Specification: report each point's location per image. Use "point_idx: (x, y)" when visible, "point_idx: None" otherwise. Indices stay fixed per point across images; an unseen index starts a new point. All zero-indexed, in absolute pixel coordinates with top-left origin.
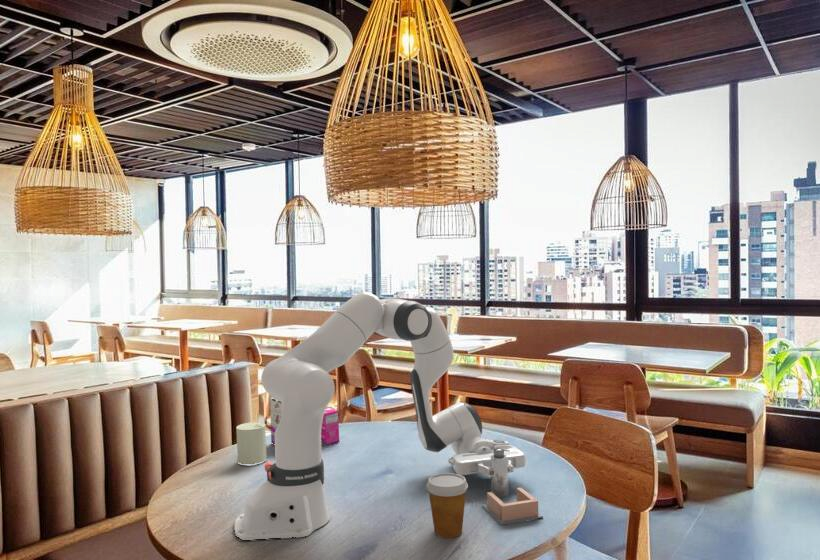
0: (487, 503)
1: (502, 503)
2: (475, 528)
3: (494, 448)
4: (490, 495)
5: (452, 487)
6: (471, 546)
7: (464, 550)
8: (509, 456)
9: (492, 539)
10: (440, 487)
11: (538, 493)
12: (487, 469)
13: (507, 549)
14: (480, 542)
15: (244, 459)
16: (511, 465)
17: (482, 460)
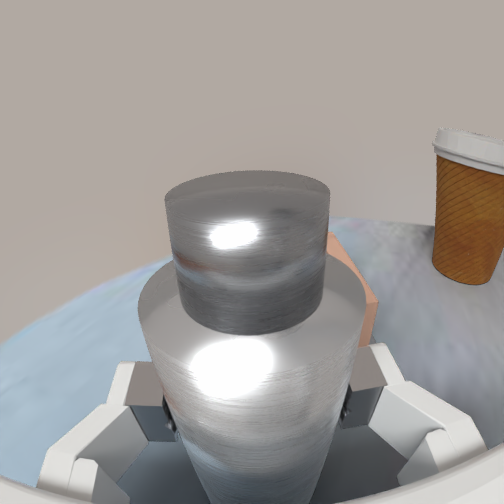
0: (368, 338)
1: (327, 240)
2: (403, 270)
3: (303, 208)
4: (364, 280)
5: (457, 131)
6: (404, 232)
7: (414, 227)
8: (6, 485)
9: (363, 240)
10: (481, 137)
11: (67, 424)
12: (383, 343)
13: (337, 221)
14: (388, 237)
15: None
16: (127, 367)
17: (443, 472)
